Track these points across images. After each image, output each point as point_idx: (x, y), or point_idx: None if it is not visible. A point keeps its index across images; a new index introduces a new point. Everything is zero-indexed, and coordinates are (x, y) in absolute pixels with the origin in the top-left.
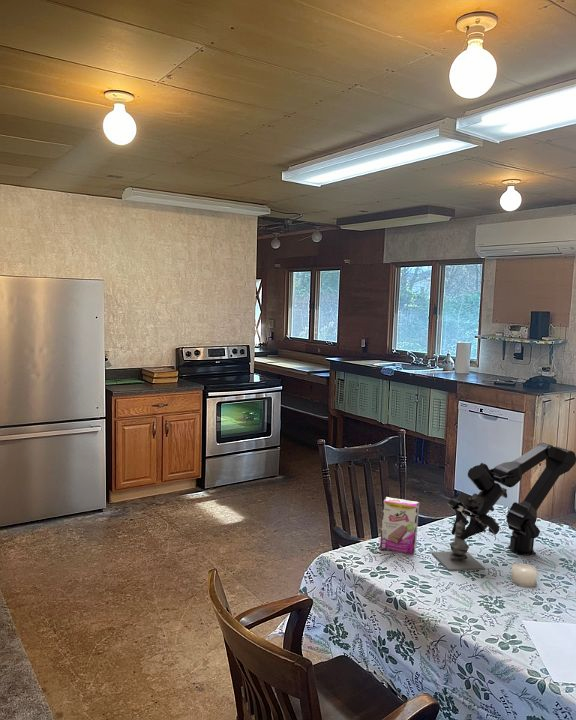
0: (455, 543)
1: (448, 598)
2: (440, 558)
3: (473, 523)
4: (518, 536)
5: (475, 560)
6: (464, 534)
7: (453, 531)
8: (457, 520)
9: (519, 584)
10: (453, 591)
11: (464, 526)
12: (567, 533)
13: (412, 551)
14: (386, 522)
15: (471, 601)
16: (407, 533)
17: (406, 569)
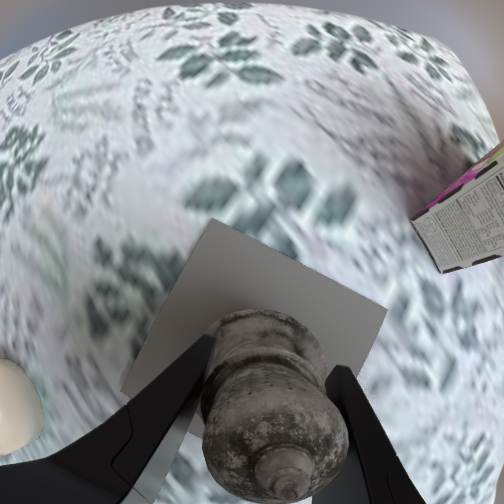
0: (266, 340)
1: (108, 77)
2: (317, 286)
3: (23, 465)
4: None
5: (195, 428)
6: (169, 368)
7: (337, 382)
8: (382, 493)
9: (2, 359)
10: (112, 112)
11: (202, 448)
12: None
13: (420, 212)
14: None
15: (55, 119)
16: (483, 162)
17: (320, 99)
